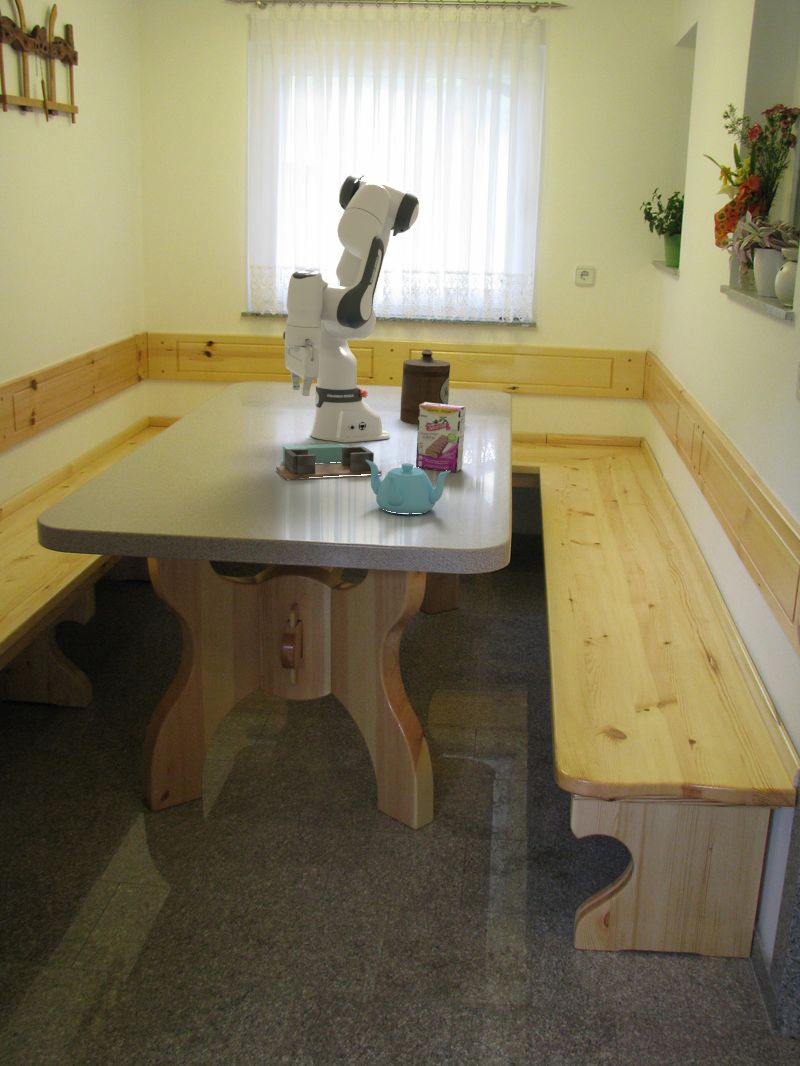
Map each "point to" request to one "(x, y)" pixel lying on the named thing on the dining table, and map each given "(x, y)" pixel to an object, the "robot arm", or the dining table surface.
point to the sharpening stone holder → (304, 464)
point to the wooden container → (423, 385)
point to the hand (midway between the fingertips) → (300, 392)
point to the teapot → (406, 489)
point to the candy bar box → (440, 436)
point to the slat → (321, 452)
